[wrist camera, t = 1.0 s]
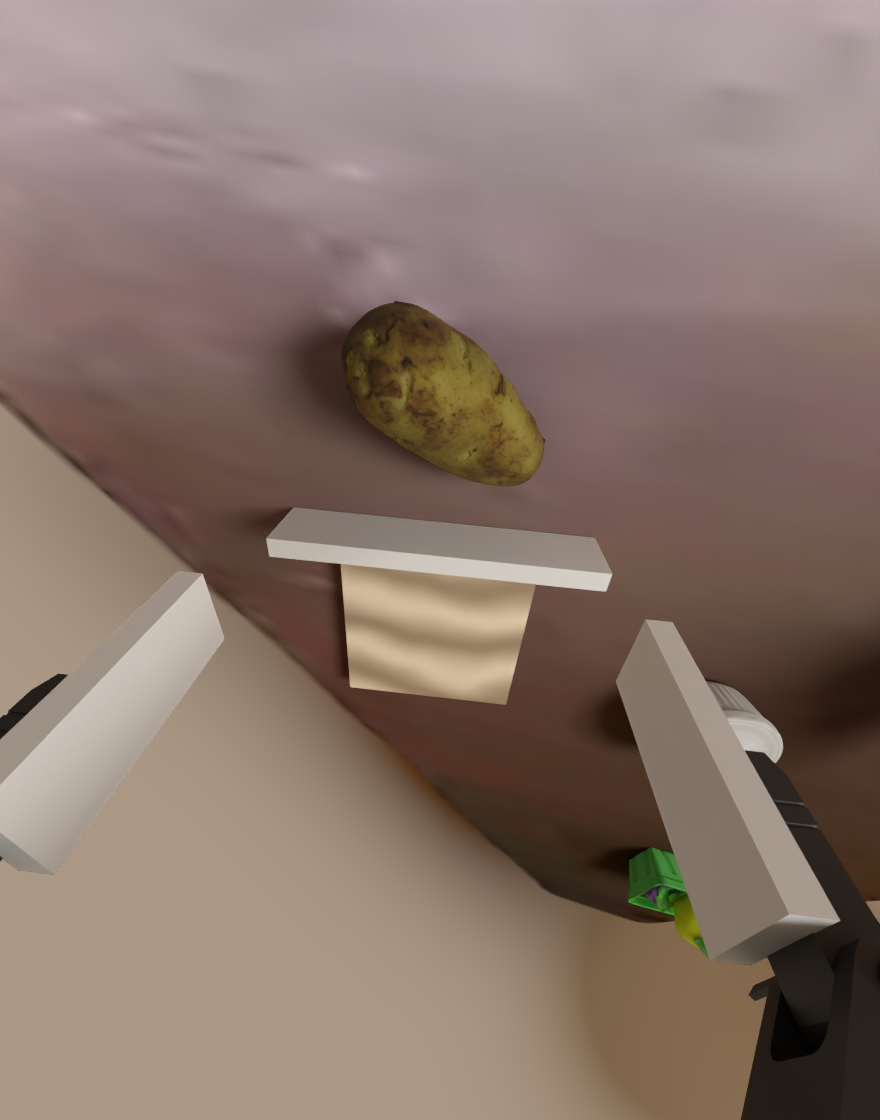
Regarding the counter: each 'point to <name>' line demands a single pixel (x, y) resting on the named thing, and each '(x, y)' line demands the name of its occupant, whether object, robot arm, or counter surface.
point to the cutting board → (433, 632)
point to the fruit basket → (664, 891)
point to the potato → (439, 396)
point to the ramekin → (747, 722)
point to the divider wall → (441, 548)
